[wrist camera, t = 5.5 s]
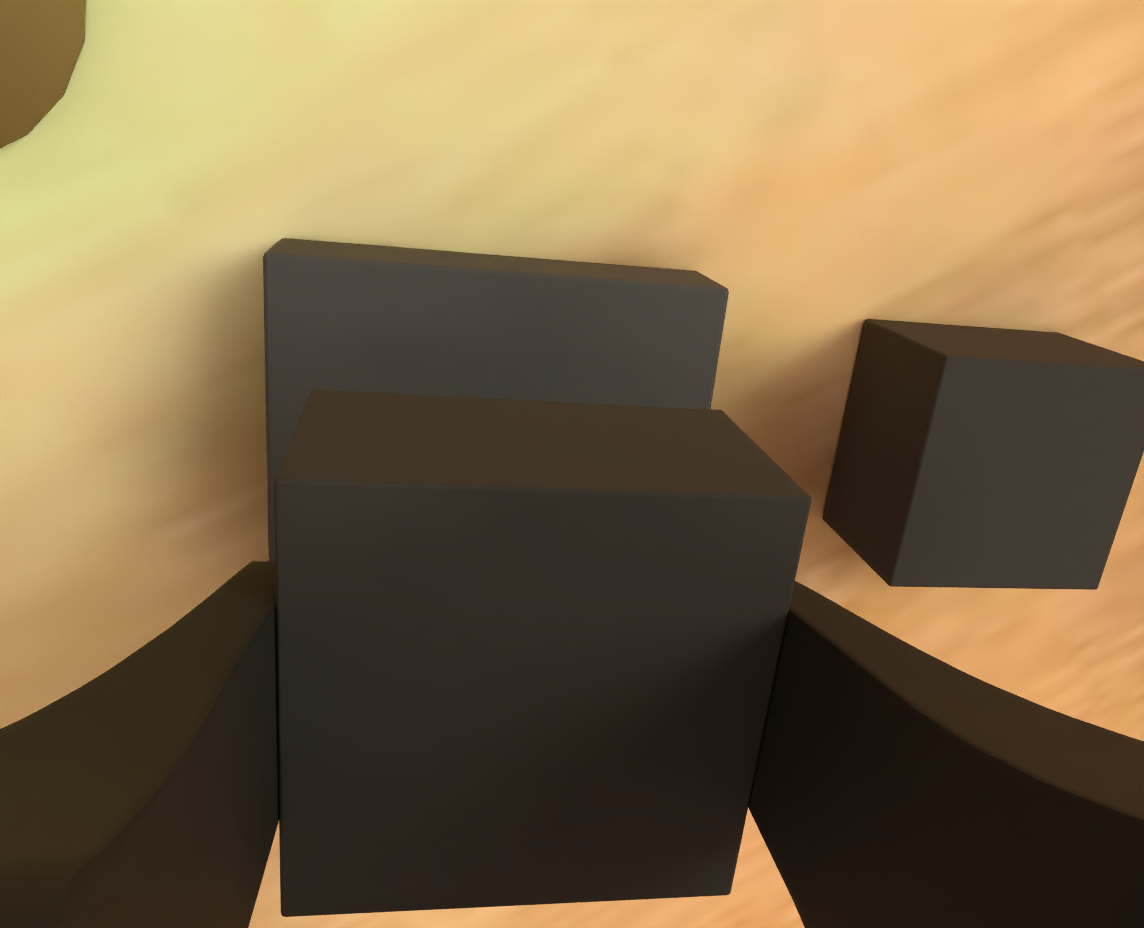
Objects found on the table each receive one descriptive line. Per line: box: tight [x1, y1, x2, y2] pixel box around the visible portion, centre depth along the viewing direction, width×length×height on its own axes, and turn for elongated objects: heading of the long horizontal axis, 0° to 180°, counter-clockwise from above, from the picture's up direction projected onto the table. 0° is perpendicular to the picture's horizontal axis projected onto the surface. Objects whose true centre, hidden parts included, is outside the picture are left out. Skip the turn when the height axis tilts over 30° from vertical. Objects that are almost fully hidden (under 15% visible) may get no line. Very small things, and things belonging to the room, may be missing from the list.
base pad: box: [263, 238, 729, 562], centre depth 18 cm, size 8×8×2 cm
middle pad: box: [274, 389, 811, 917], centre depth 12 cm, size 6×6×3 cm
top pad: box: [823, 319, 1144, 589], centre depth 18 cm, size 5×5×3 cm
